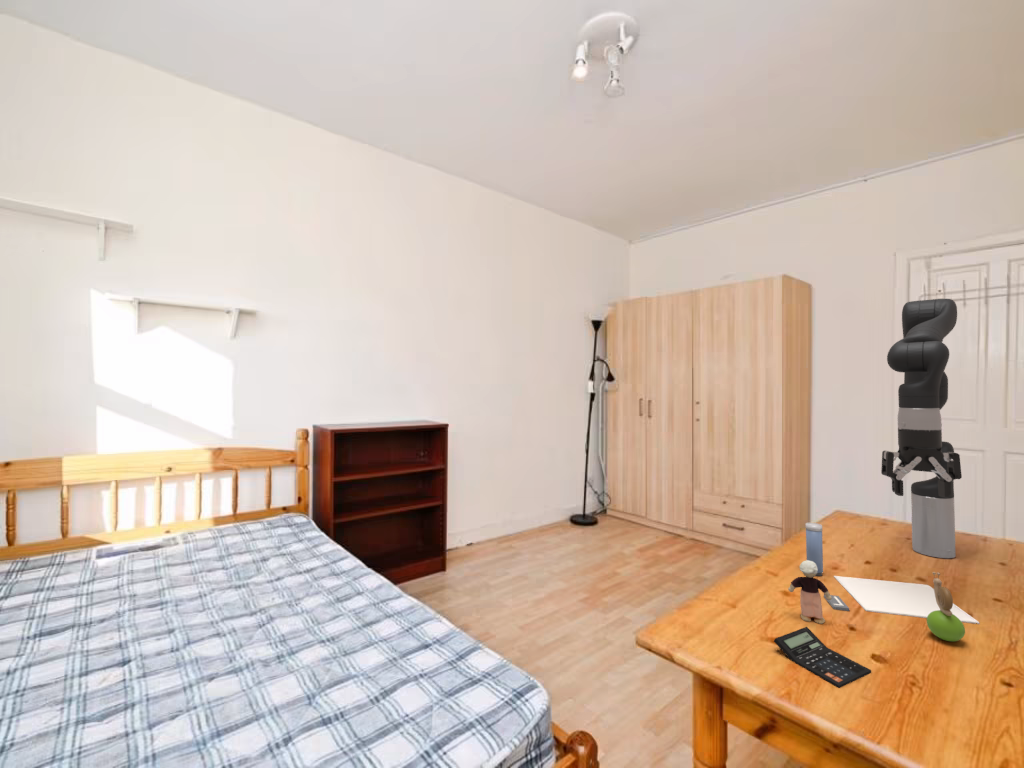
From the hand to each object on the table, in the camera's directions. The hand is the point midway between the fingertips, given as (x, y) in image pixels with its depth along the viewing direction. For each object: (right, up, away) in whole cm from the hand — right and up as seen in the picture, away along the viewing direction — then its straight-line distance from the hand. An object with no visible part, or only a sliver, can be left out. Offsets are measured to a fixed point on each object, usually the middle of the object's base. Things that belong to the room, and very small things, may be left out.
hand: (920, 496), depth 102 cm
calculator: (-39, -26, -21) cm, 51 cm away
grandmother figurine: (-31, -25, -7) cm, 40 cm away
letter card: (-20, -25, -1) cm, 32 cm away
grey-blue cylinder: (-14, -25, +15) cm, 32 cm away
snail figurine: (-9, -25, -15) cm, 30 cm away
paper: (-4, -25, +1) cm, 25 cm away
